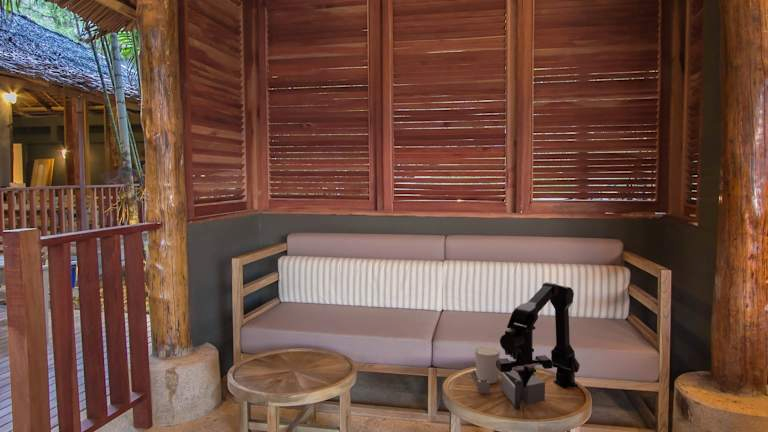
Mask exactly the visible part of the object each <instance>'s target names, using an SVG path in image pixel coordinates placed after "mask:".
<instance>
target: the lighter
mask: <svg viewBox="0 0 768 432" xmlns="http://www.w3.org/2000/svg"><path fill="white" fill-rule="evenodd" d="M469 372H470V373H469V374H470V376H471V378H472V380H473V382H474V383H477V393H480V394H486V395H488V394H490V384H489V381H487V379H485V378H481V380H478V378H477V375H476V370H475V369H472V370H470V371H469Z"/></svg>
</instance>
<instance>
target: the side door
mask: <svg viewBox="0 0 768 432" xmlns="http://www.w3.org/2000/svg"><path fill="white" fill-rule="evenodd" d="M500 375H501V377H500V378H501V381H500V388H501V390H502V392H503V393H504V394H505V396H506V397H507V398H508V399H509V400H510V402H511V403H512V404H513V406H514V408H515V409H516V410H517V409H521V404H522V403H521V381H520V380H515V385H514V384H513V383H512V382H511V380H510V379H509V378H508V377H507V376H506V375H505V374H504V372H501V374H500Z"/></svg>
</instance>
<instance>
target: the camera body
mask: <svg viewBox="0 0 768 432" xmlns="http://www.w3.org/2000/svg"><path fill="white" fill-rule="evenodd" d="M503 373H504V374H505V375H506V376H507V377H508V378H509V379H510V380H511V382H512V383H513V384H514V385H515V380H520V381H521V379H520V376H519V374H518V373H517V372H516V371H515V370H514V369H512V370H511V371H510V372H503ZM521 401H522V402H523V403H524V404H527V405H533V404H536V403H540V402H545V401H546V382H545V381H544V380H542V379H541V378H539V377H537V376H536V375H535V376H533V375H532V376H531V378H530V379H529V381H528V383H527V385H526V387H525V388H524V387H523V385H522V382H521Z"/></svg>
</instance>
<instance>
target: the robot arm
mask: <svg viewBox="0 0 768 432" xmlns="http://www.w3.org/2000/svg"><path fill="white" fill-rule="evenodd" d="M574 295H575V292H574V290H573V288H572V287H569V286H564V285H561V284H560V285H559V284H557V283H554V282H543V284H542V286H541V288H540V289H539V290H537V292H535V294H534V295H533V296H532V297H531V298H530V299H529V300H528V301H526V302H525V303H522V304H521V303H520V304H519V305H517V306H516V307H515V308H514V309H513V311H512V313H511V316H510V319H509V321H508V323H507V326H506V328H507V329H508V330H507V329H506V330H505V332H504V334H502V335H501V337H500V339H499V344H500V347H501V348H502V349H503V350H504V354H505V355H506V356H509V357H510V358H512V359H513V360H514V361H510V360H509V359H508V358H506V357H505V358H499V359H497V361H496V367H497V368H498V369H499V371H500V372H501V373H504V372H510V371H511V370H515V371H516V372H517V373H518V374H519V376H520V379H521V382H522V385H523V387H524V388H525V387H526V385H527V383H528V381H529V379H530V378H531V376H532V375H533V374H535V373H536V372H537V369H536V368H535V367H536V366H541V368H543V369H544V370H546V369H547V370H548V369H550V370H551V369H553V368H555V369H556V373H555V380H553V383H554V384H556V385H558V386H561V388H564V389H568V388H573V387H576V386H578V383H577V382H576V381H575V377H576V376H575V375H576V373H578V372H579V369H580V367H581V365H580V363H579V361H578V360H577V358H576V354H575V350H574V348H573V347H572V345H571V343H570V313H569V312H570V310H569V309H570V307H571V305H572V304H573V302H574ZM549 302H550V304H551V305H552V308H554V316H555V319H554V320H555V346H554V347H553V349H552V350H551V351H550V353H551V355H550V356H551V357H550V358H549V357H548V356H546V355H536V356H535V358H534V356H533V353H534V352H535V349H534V347H533V344H534V343H533V340H534V339H533V331H534V330H536V326H534V325H535V324H536V322H537V320H538V319H539V313H540V312H541V310H542V309H543V308H544V307H545V306H546V305H547V303H549Z"/></svg>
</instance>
